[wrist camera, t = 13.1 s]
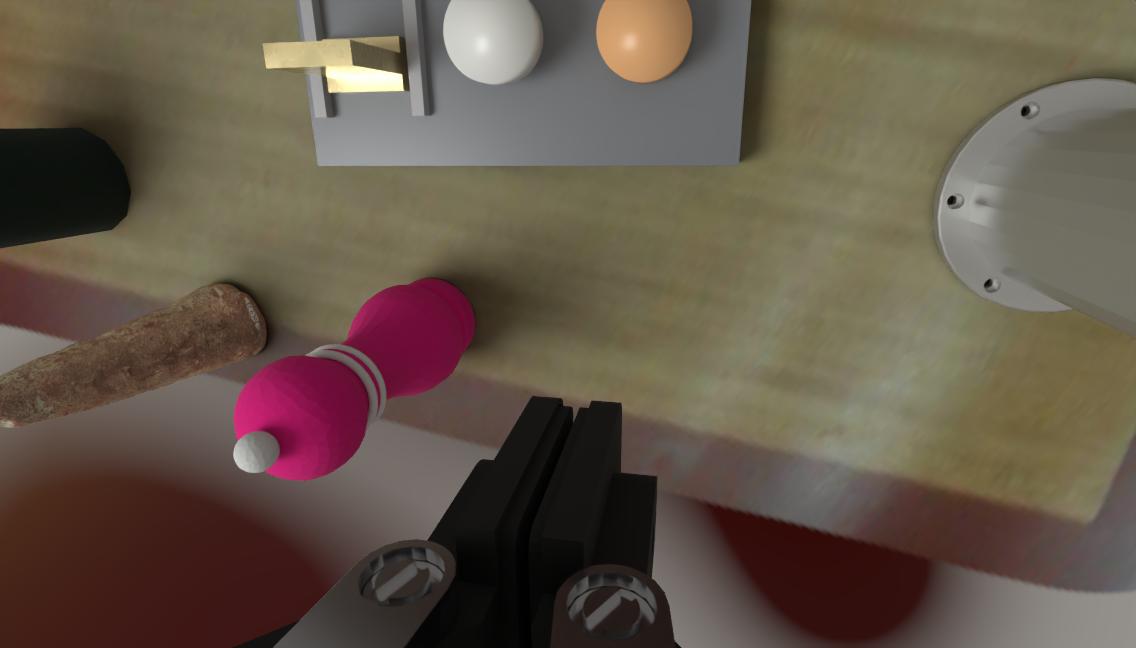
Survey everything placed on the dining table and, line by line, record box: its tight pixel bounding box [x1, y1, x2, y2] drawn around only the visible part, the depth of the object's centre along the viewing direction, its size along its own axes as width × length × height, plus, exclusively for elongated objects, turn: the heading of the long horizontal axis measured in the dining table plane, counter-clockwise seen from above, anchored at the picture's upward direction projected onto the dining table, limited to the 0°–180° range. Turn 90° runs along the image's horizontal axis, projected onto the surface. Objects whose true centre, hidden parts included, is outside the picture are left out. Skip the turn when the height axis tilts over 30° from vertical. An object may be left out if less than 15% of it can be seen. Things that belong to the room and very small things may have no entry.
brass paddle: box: [263, 36, 409, 93], centre depth 34 cm, size 5×3×6 cm, turn 91°
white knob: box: [443, 0, 543, 86], centre depth 32 cm, size 5×5×2 cm
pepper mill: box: [234, 278, 475, 481], centre depth 34 cm, size 7×7×20 cm
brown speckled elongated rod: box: [0, 284, 267, 428], centre depth 39 cm, size 6×18×6 cm
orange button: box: [596, 0, 692, 84], centre depth 32 cm, size 5×5×2 cm
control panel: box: [295, 0, 751, 166], centre depth 35 cm, size 27×14×3 cm, turn 91°
